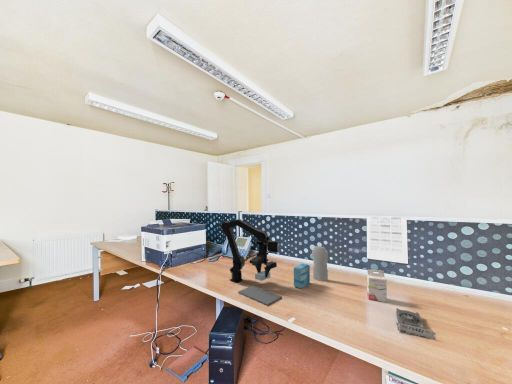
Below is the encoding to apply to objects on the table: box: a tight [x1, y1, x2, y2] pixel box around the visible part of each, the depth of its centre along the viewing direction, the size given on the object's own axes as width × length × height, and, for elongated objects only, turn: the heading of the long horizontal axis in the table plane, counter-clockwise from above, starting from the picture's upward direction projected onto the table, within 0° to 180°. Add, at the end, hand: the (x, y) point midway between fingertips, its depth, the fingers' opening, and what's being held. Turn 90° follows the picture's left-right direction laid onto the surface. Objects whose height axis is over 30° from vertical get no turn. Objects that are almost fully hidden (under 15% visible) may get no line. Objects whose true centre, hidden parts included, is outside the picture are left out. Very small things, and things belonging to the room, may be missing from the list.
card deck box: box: [254, 270, 271, 282], centre depth 139 cm, size 6×8×3 cm, turn 137°
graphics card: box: [395, 307, 436, 340], centre depth 92 cm, size 17×4×12 cm
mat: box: [237, 285, 283, 307], centre depth 122 cm, size 22×12×1 cm, turn 46°
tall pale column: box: [311, 245, 329, 282], centre depth 144 cm, size 11×4×22 cm, turn 55°
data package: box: [293, 263, 311, 289], centre depth 135 cm, size 12×4×12 cm, turn 138°
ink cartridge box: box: [366, 269, 388, 303], centre depth 116 cm, size 9×5×15 cm, turn 71°
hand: (262, 276), depth 139 cm, fingers closed on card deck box, 5 cm apart
